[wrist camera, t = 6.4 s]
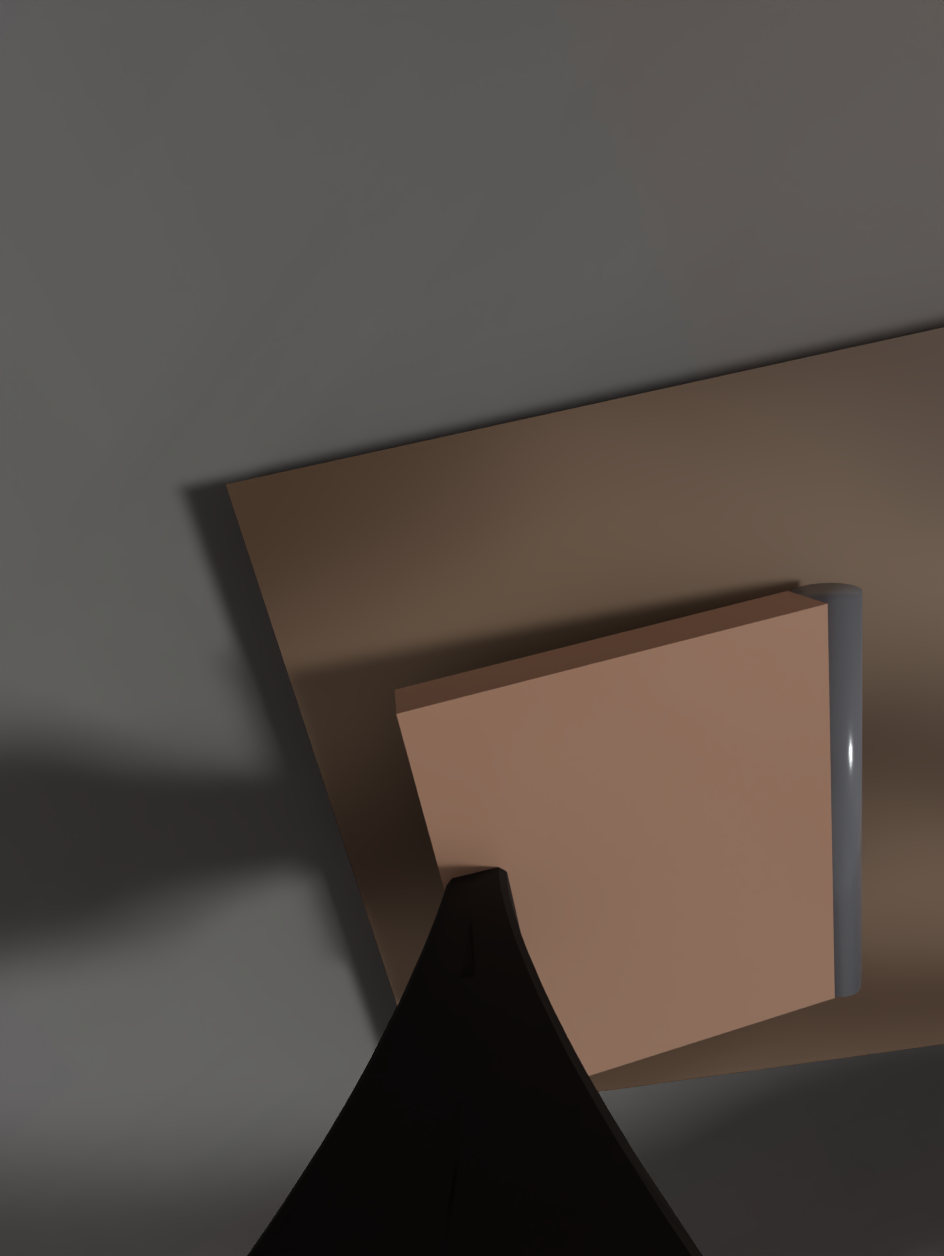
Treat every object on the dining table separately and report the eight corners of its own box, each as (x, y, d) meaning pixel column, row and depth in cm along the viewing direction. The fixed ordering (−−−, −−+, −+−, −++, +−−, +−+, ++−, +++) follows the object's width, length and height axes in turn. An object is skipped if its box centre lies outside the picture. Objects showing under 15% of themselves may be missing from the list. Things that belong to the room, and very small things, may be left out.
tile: (503, 1106, 11) (492, 1047, 12) (874, 988, 11) (832, 942, 12) (396, 715, 8) (394, 685, 9) (879, 592, 9) (825, 577, 10)
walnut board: (1173, 957, 14) (1235, 1003, 13) (436, 1063, 15) (433, 1114, 14) (1327, 244, 9) (1445, 217, 8) (252, 479, 11) (225, 484, 9)
